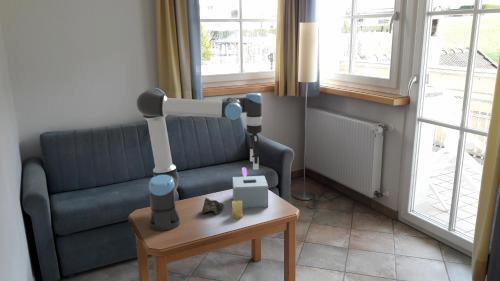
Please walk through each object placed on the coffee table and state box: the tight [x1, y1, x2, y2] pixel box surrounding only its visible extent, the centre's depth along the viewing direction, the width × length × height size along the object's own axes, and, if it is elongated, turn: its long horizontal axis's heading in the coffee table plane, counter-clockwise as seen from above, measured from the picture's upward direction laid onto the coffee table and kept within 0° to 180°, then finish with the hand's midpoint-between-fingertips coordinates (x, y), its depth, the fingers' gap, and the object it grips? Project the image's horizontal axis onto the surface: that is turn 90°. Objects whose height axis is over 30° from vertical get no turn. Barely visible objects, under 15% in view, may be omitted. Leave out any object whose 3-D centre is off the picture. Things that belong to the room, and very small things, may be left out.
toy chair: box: [241, 166, 248, 177], centre depth 237 cm, size 8×9×15 cm
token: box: [231, 200, 243, 219], centre depth 207 cm, size 5×3×8 cm, turn 95°
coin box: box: [232, 175, 269, 209], centre depth 224 cm, size 18×16×12 cm
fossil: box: [201, 197, 224, 216], centre depth 213 cm, size 11×9×10 cm
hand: (254, 165), depth 209 cm, fingers open, 13 cm apart
